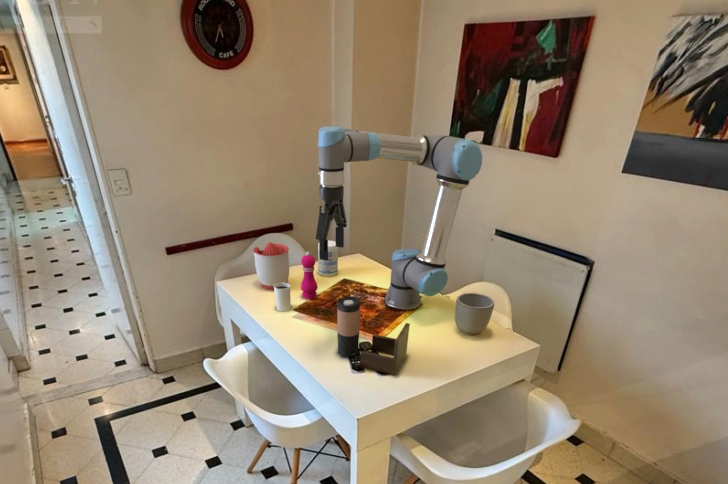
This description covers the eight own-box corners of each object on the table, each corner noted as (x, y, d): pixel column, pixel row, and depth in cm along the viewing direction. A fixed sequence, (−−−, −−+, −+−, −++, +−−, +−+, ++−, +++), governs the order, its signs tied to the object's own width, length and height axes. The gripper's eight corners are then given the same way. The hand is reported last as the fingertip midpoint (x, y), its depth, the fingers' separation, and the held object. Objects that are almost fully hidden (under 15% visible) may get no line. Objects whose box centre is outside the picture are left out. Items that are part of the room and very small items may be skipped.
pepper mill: (320, 295, 204) (320, 250, 192) (311, 301, 199) (309, 255, 187) (307, 291, 207) (306, 247, 195) (298, 297, 202) (295, 252, 190)
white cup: (287, 312, 190) (286, 290, 184) (273, 310, 192) (271, 287, 186) (294, 306, 195) (292, 283, 189) (279, 303, 197) (278, 281, 191)
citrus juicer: (275, 275, 222) (272, 233, 211) (297, 285, 212) (295, 242, 200) (248, 283, 214) (243, 240, 202) (269, 295, 204) (265, 250, 192)
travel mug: (356, 359, 161) (358, 306, 150) (335, 356, 163) (335, 304, 151) (360, 348, 167) (362, 297, 156) (339, 345, 169) (339, 295, 157)
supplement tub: (325, 278, 220) (324, 247, 211) (314, 272, 226) (313, 242, 217) (341, 274, 224) (342, 244, 216) (330, 268, 231) (330, 238, 222)
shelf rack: (372, 348, 167) (374, 317, 160) (406, 355, 164) (409, 323, 156) (360, 367, 157) (361, 334, 149) (395, 375, 153) (398, 342, 146)
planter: (464, 319, 187) (469, 289, 179) (494, 331, 179) (501, 300, 171) (444, 330, 179) (449, 299, 171) (475, 343, 171) (481, 312, 163)
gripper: (335, 176, 152) (335, 240, 164) (302, 192, 133) (305, 263, 145) (357, 178, 149) (355, 243, 162) (326, 195, 131) (327, 267, 143)
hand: (332, 253), depth 154 cm, fingers open, 13 cm apart
